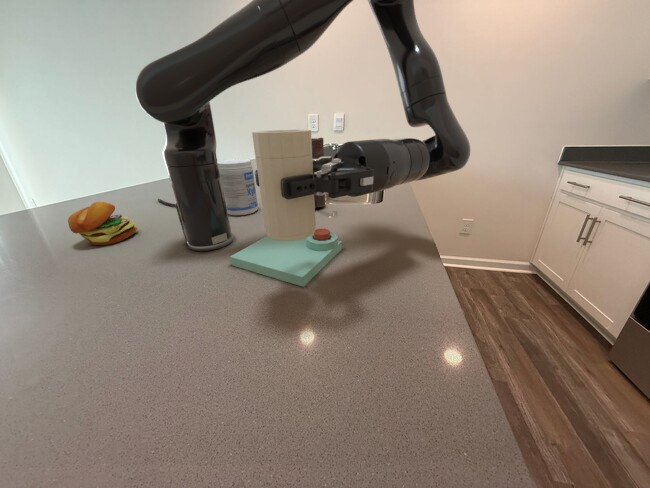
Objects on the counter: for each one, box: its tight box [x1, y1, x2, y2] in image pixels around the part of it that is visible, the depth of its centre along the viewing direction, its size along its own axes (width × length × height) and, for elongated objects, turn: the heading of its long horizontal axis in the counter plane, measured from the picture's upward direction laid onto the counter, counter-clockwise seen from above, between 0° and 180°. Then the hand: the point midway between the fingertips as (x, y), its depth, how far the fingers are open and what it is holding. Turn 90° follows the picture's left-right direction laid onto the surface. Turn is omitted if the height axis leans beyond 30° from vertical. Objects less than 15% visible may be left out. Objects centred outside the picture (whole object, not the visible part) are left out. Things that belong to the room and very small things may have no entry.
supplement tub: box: [217, 158, 259, 216], centre depth 75 cm, size 10×10×15 cm
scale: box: [229, 231, 343, 288], centre depth 50 cm, size 16×15×4 cm
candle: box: [311, 137, 326, 209], centre depth 76 cm, size 8×7×20 cm
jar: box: [251, 129, 317, 241], centre depth 31 cm, size 6×6×12 cm
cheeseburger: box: [67, 201, 139, 246], centre depth 59 cm, size 10×11×10 cm
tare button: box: [314, 228, 331, 241], centre depth 51 cm, size 3×3×2 cm
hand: (268, 183), depth 30 cm, fingers closed on jar, 6 cm apart
